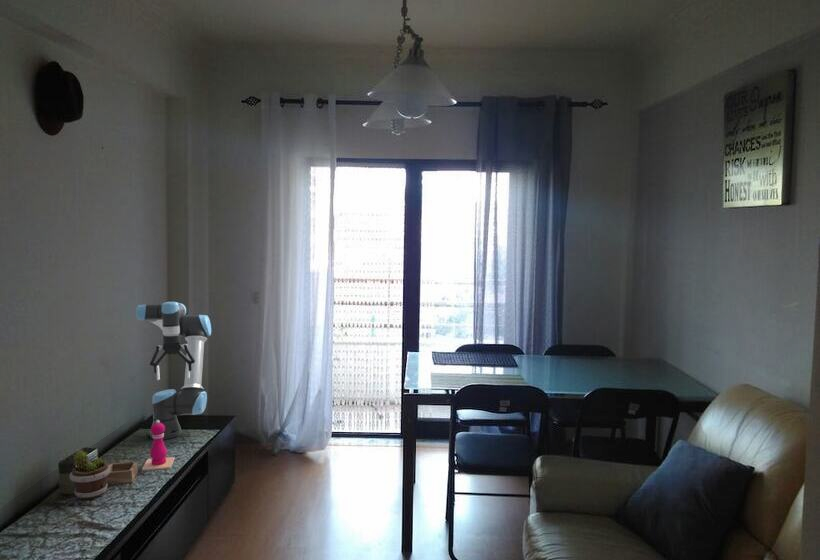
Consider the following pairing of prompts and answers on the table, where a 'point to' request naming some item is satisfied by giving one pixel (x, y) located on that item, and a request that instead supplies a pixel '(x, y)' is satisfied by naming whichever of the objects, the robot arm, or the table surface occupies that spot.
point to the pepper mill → (158, 444)
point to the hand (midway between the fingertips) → (173, 378)
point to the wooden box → (122, 472)
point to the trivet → (166, 465)
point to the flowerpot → (89, 476)
